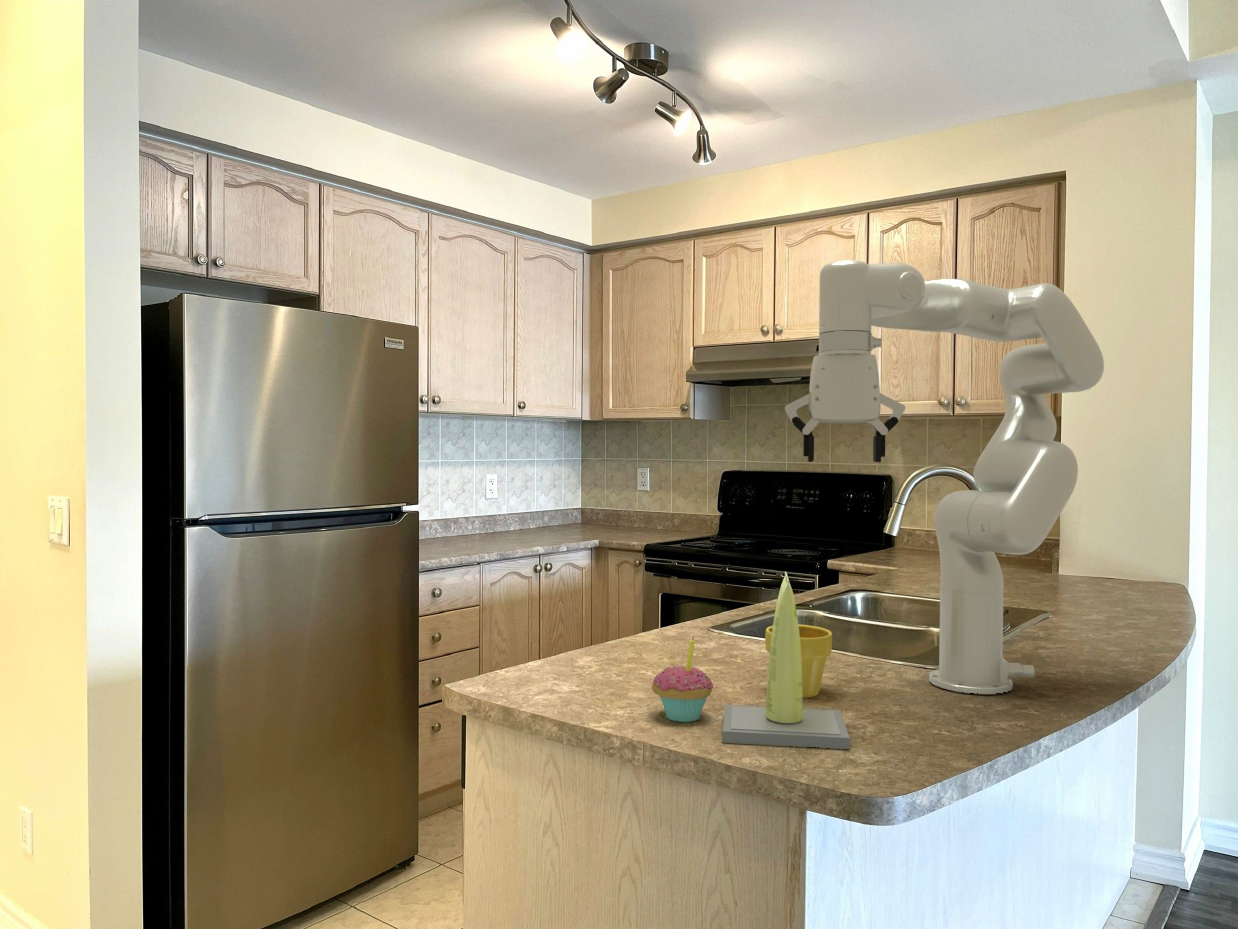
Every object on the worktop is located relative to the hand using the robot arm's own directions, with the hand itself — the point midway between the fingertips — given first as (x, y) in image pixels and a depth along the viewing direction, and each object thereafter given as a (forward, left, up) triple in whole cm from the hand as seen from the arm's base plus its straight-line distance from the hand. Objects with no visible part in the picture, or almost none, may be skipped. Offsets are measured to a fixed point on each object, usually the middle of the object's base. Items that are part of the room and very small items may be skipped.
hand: (843, 461), depth 130 cm
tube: (+9, +14, -35) cm, 39 cm away
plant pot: (+6, -6, -36) cm, 37 cm away
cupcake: (+23, +10, -36) cm, 44 cm away
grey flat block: (+9, +14, -36) cm, 40 cm away
